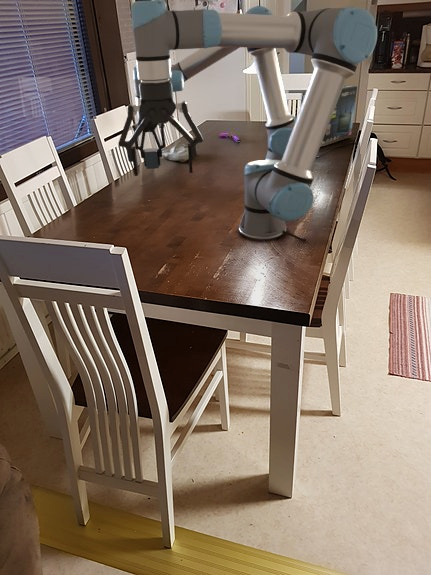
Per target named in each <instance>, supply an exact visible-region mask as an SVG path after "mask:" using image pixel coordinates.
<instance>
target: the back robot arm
mask: <svg viewBox="0 0 431 575" xmlns="http://www.w3.org/2000/svg"><path fill="white" fill-rule="evenodd" d="M244 14H258V15H273V13H272V11H270V9H268V8H267V7H265V6H261V5H256V6H253V7H251V8H248V10H247V11H246V12H245V13H244ZM240 48H241V47H209V48H206V49H205V48H197V49H196V50H195V51H194V52H192V53H190V54H189V55H188V56H186V57H184V58H183V59H181V60H180V61H178V62H176V63H175V64H173V65H172V66H171V78H170V79H169V80H170V81H171V82H172V90H173V93H177V92H182V91H183V90H184V88H185V87H184V86H185V82H187V81H188V80H190V79H192V78H193V77H195V76H196V75H197V74H200V73H201V72H202V71H204V70H206V69H207V68H210V67H211V66H212V65H214V64H216V63H217V62H219V61H220V60H222V59H225V57H227V56H229V55H230V54H232V53H233V52H236V51H237V50H239V49H240ZM246 50H247V54H249V55H251V57H252V58H253V62H254V67H255V72H256V75H257V79H258V84H259V89H260V93H261V96H262V101H263V105H264V109H265V114H266V117H267V120H266V123H265V124H264V125H265V130H266V134H267V152H266V156H265V158H264V160H279V161H281V160H282V158H283V155H284V152H285V149H286V147H287V144H288V141H289V138H290V135H291V133H292V130H293V127H294V124H295V121H296V119H297V117H296V115H295V116H294V115H292V114H291V113H289V108H288V103H287V98H286V93H285V89H284V88H285V87H284V84H283V79H282V75H281V70H280V65H279V59H278V56H277V55H278V54H277V51H276V48H248V47H246ZM132 75H133V77H132V78H133V85H134V86H133V87H134V92H135V105H140V104H141V99H140V90H139V84H140V82H141V80H139V79H138V72H137V65H136V66H134V67H133V68H132ZM143 119H144V115H143V114H142V113H141V112H140V111H137V123H133V124H131V129H132V131H133V133H134V132H135V131H136V129H137V128H138V126H139V125H140V123H141V122H142V120H143ZM165 126H166V124H161V123H158V124H151V123H150V122H148V124H147V125H146V127H145V128H144V130H143V131H142V132H141V140H140V143H139V137H138V138H137V140H136V141H135V143H134V147H136V151H137V150H138V151H139V154H140V158H141V159H143V163H144V167H146V162H145V153H144V152H145V149H146V148H144V146H145V138H146V134H147V133H151V134H152V135H153V138H154V141H155V143H156V146H157V148H158V149H157V155H158V164H159V167H160V166H162V164H161V158H162V151H163V150H164V149H165V148H167V146H166V145H167V144H166V137H165ZM157 127H158V128H159V129H160V138H161V141H160V139H159V137H158V134H157V130H156V129H157ZM139 144H140V145H139ZM354 145H358V143H357V142H356V141H355V143H354ZM323 153H324V152H323ZM321 154H322V153H321ZM321 154H319V155H320V156H319V155H318V156H319V157H317V156H316V158H315V160H317V159H320V158H321V157H322V156H324V155H325V153H324V154H322V155H321Z"/></svg>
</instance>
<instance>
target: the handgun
mask: <svg viewBox="0 0 431 575" xmlns="http://www.w3.org/2000/svg"><path fill="white" fill-rule="evenodd" d="M229 133H230V132H226V133H219V137H220V138H225V137H226V138H228V137H227V135H226V134H229ZM221 135H226V136H221ZM231 135H232V134H231ZM232 136H233V135H232ZM233 137H234V138H235V139H236V140H237V141H240V142H237V141H236V140H235V139H234V138H231V140H234V141H235V142H236V143H237V144H240V143H241V140H240V139H239V137H238V136H236V135H235V136H233Z"/></svg>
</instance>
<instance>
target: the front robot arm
mask: <svg viewBox="0 0 431 575" xmlns="http://www.w3.org/2000/svg"><path fill="white" fill-rule="evenodd" d="M130 10H131V29H132V35H133V43H134V44H133V45H134V51H135V63H136V66H137V72H138V79H139V80H141V82H140V84H139V90H140V99H141V104H140V105H137V104H133V103H129V104H128V106H127V117H126V120H125V122H124V126H123V128H122V131H121V133H120V134H121V135H120V137H119V140H118V143H117V144H118V147H120V148H121V147H122V148H124V149H126V155H127V160H128V163H132V165H133V172H134V176H135V177H138V176H139V173H140V171H139V164H138V163H139V162H138V156H137V150H136V147H135V146H134V145H135V141H136V140H137V138H138V139H139V137H140V136H141V135H142V132H143V130H144V128H145V127H146V125H147V124H148V122H150V123H151V124H158V123H161V124H165V125H166V124H168V123H170V124H171V125H172V126H173V127H174V128H175V130H176V131H178V133H180V135H181V136H182V137H183V138H184V139H185V140H186V141H187V142H188V143H187V147H188V156H189V159H188V169H189V174H192V173H193V159H196V158H197V154H196V148H197V145H198V144H199V143H203V141H204V138H203V135H202V133H201V132H200V130H199V128H198V127H197V124H196V123H195V120H194V119H193V117H192V116H191V114H190V112H189V109H188V102H187V101H185V100H182V102H177V103H175V101H174V92H173V90H172V82H171V81H170V80H169V79H170V78H171V67H172V66H171V52H170V51H177V50H193V49H194V50H195V49H196V50H197V49H200V48H205V49H206V48H209V47H240V48H247V47H248V48H275V49H284V50H285V51H286V53H289V54H301V55H306V56H310V57H311V59H310V61H311V64H312V67H313V72H312V73H311V77H310V80H309V82H308V85H307V88H306V90H305V92H306V93H305V96H304V99H303V102H302V105H301V104H300V108H299V111H298V114H297V115H296V116H297V117H296V121H295V124H294V127H293V130H292V133H291V135H290V138H289V141H288V144H287V147H286V149H285V152H284V155H283V158H282V160H281V161H279V160H265V159H261V160H259V159H258V160H254V161H250V162H248V163H246V165H244V173H243V178H244V179H243V180H244V182H243V183H244V211H243V213H242V216H241V220H240V222H239V226H238V232H239V235H240V236H241V237H242V238H244V239H247V240H250V241H254V242H271V241H277V240H279V239H281V238H283V237H285V235H287V236H289V237H292V238H293V239H296V240H298V241H301V242H307V239H306V238H303V237H300V236H298V235H296V234H295V233H291V232H289V231H287V223H286V222H295V221H298V220H299V219H300V218H303V217H305V216H306V214H308V213H309V211H310V210H311V208H312V206H313V203H314V194H313V190H312V184H313V181H314V179H315V178H314V175H313V172H312V169H313V167H314V163H315V161H316V159H315V158H316V157H317V156H318V153H319V150H320V149H321V148H320V145H321V143H322V140H323V138H324V135H325V132H326V130H327V127H328V125H329V122H330V119H331V117H332V114H333V112H334V109H335V106H336V104H337V101H338V99H339V96H340V93H341V91H342V88H343V86H344V85H345V83H346V80H347V79H349V78H351V77H352V76H354V75H355V73H356V72H357V69H358V66H359V64H360V63H362V62H364V61H365V60H366V59H368V58H369V57H370V56H371V55H372V53H373V51H374V50H375V49H376V48H375V47H376V45H377V41H378V27H377V25H376V19H375V18H374V16H373V15H372V14H371V12H369V11H368V10H366V9H365V8H363V7H362V8H361V7H355V6H346V7H326V8H319V9H313V10H308V11H307V10H305V11H291V12H289V13H288V14H287V15H278V14H272V15H258V14H245V13H233V12H218V11H217V10H215V9H207V8H202V9H200V8H199V9H186V10H168V8H167V3H166V1H164V0H138V1H137V0H136V1H134V2H133V3H132V4H131V6H130ZM176 110H178V111H179V113H181V114H182V115H183V116H184V118H185V121H186V122H187V124H188V126H189V127H190V129H191V131H192V133H193V134H194V136H195V137H193V136H192V135H191V133H190V132H189V131H188V130H187V129H186V128H185V127H184V126H183V125H182V124H181V123H180V121H179V120H178V119H177V118H176V116H175V115H174V114H175V112H176ZM137 111H140V112H141V113H142V114H143V115H144V119H143V120H142V122H141V123H140V125H139V126H138V128H137V129H136V131H135V132H134V131H133V134H132V135H131V137H129V139H128V140H126V139H127V136H128V133H129V130H130V128H131V126H132V122H133V119H134V117H135V116H136V115H138V112H137Z"/></svg>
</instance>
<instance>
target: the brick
mask: <svg viewBox="0 0 431 575" xmlns="http://www.w3.org/2000/svg"><path fill="white" fill-rule="evenodd" d="M144 149H145V152H144V153H145V162H146V166H145V168H146V170H153V169H159V168H160V166H159V164H158V155H157V149H158V147H151V148H144Z"/></svg>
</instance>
